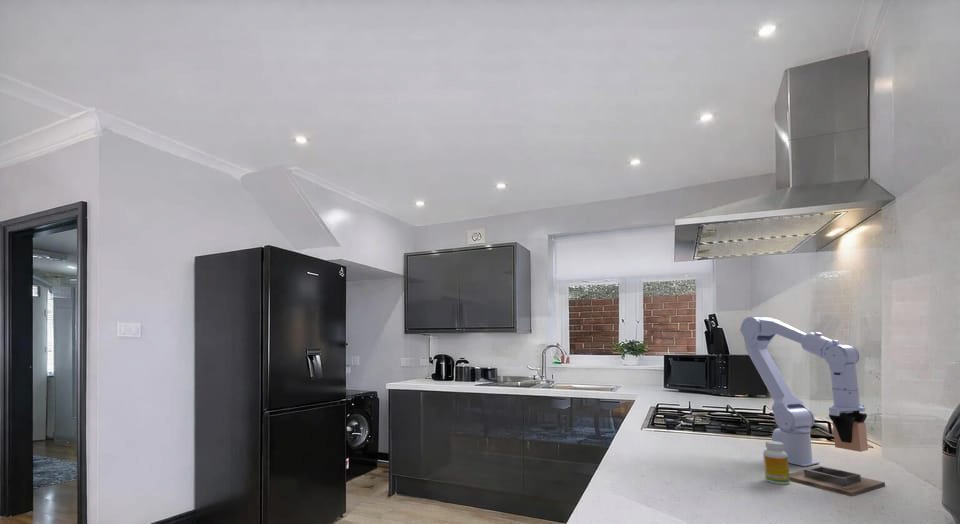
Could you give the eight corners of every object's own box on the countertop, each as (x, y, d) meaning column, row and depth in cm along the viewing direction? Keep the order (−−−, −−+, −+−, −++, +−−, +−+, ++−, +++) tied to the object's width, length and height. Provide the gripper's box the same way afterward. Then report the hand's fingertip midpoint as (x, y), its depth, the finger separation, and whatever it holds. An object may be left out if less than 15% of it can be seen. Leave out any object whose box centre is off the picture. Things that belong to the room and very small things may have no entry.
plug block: (835, 447, 133) (832, 420, 134) (842, 445, 135) (839, 419, 136) (860, 451, 128) (857, 424, 129) (868, 450, 130) (865, 422, 131)
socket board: (782, 478, 129) (781, 468, 129) (816, 469, 136) (815, 460, 137) (852, 496, 115) (850, 485, 115) (885, 485, 122) (884, 475, 123)
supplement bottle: (793, 485, 123) (790, 445, 124) (769, 484, 124) (766, 444, 125) (784, 479, 128) (781, 440, 129) (762, 478, 129) (759, 439, 130)
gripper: (848, 392, 127) (854, 447, 125) (875, 389, 134) (881, 440, 132) (818, 389, 133) (823, 441, 131) (845, 386, 140) (851, 436, 138)
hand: (850, 441), depth 132 cm, fingers closed on plug block, 4 cm apart
